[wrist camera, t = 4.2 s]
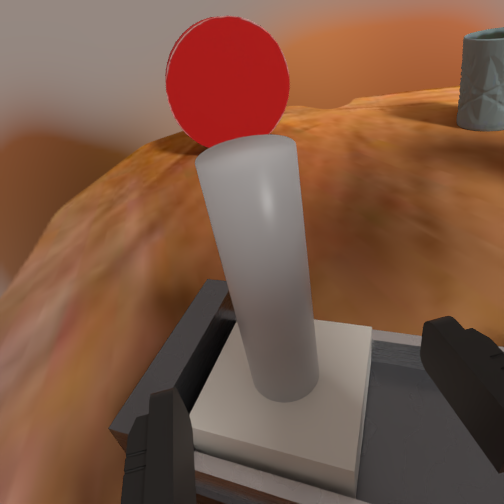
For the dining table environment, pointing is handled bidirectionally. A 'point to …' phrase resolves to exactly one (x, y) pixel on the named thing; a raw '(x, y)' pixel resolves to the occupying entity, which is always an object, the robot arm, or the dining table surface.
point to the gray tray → (374, 433)
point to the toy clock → (226, 80)
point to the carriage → (277, 331)
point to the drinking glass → (482, 81)
